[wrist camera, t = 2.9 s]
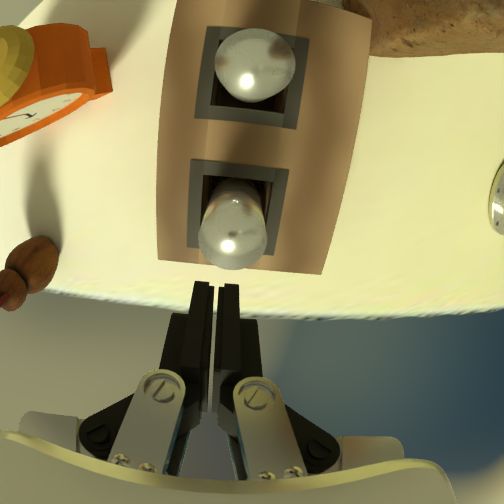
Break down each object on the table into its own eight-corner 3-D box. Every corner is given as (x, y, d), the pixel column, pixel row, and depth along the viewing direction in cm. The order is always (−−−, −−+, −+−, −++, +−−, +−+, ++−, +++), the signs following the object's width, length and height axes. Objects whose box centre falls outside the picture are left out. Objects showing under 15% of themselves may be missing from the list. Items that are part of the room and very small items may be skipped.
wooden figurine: (58, 229, 28) (-14, 303, 15) (70, 268, 30) (12, 348, 17) (26, 230, 27) (-42, 295, 14) (37, 266, 30) (-19, 336, 17)
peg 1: (281, 58, 16) (299, 35, 10) (274, 106, 18) (289, 104, 12) (227, 51, 16) (220, 25, 10) (220, 100, 18) (209, 94, 12)
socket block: (342, 37, 19) (372, 19, 13) (305, 238, 29) (321, 275, 23) (195, 16, 17) (179, -11, 11) (175, 225, 28) (157, 260, 22)
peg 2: (263, 180, 21) (272, 212, 15) (256, 226, 23) (261, 272, 17) (212, 175, 21) (199, 204, 15) (209, 221, 23) (197, 266, 17)
